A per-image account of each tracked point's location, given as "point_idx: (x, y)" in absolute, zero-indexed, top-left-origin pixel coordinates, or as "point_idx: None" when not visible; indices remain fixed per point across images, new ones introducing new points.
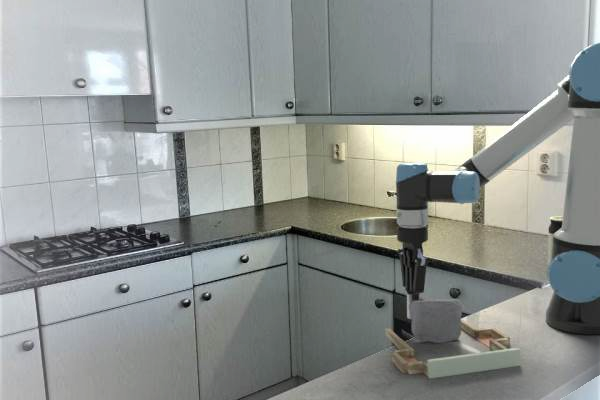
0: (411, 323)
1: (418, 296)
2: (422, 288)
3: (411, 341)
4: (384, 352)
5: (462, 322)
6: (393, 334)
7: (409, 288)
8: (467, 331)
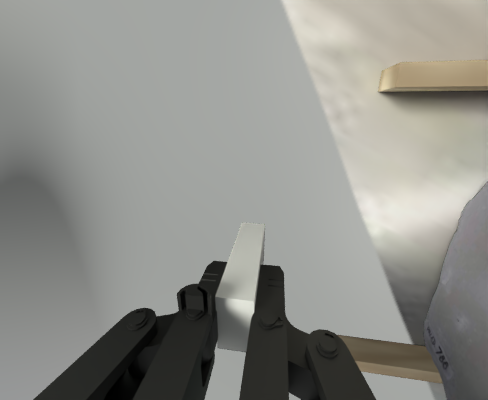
0: (434, 359)
1: (284, 309)
2: (360, 386)
3: (402, 306)
4: (432, 388)
5: (438, 86)
6: (395, 372)
7: (210, 357)
8: (474, 89)
